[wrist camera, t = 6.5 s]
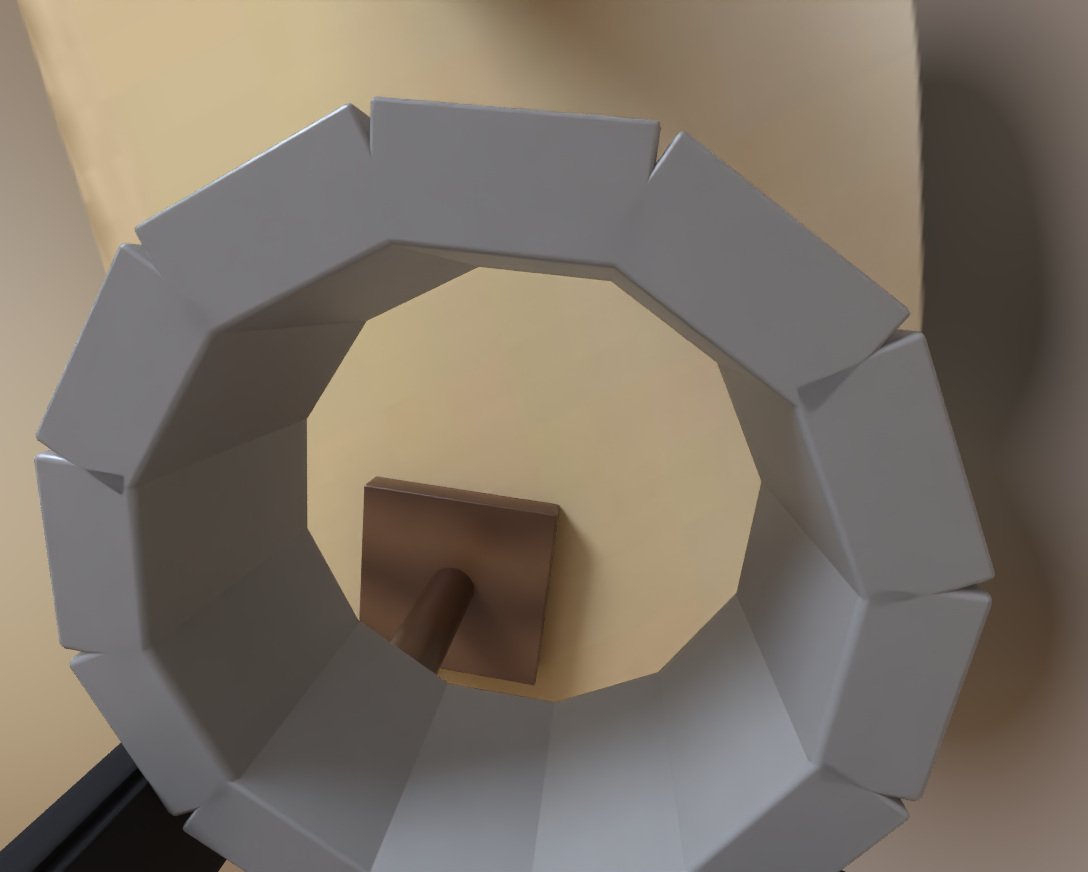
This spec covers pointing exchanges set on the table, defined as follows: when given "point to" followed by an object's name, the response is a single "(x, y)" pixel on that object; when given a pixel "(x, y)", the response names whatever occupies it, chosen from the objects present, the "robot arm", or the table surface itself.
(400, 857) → the tape roll
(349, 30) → the table surface
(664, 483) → the table surface
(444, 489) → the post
